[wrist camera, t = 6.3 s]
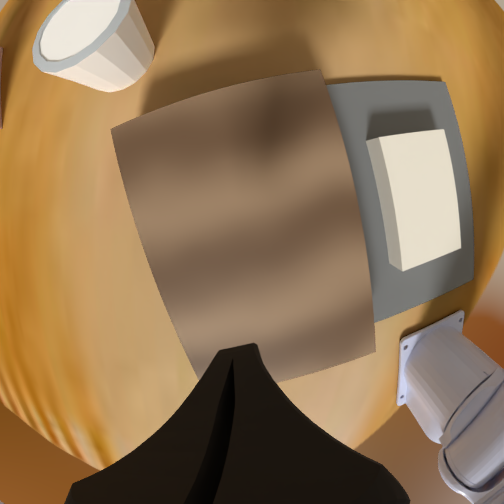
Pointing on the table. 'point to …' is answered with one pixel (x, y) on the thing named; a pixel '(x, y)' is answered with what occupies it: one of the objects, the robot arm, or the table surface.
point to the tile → (416, 196)
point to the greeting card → (0, 51)
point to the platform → (253, 223)
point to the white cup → (95, 43)
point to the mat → (354, 137)
